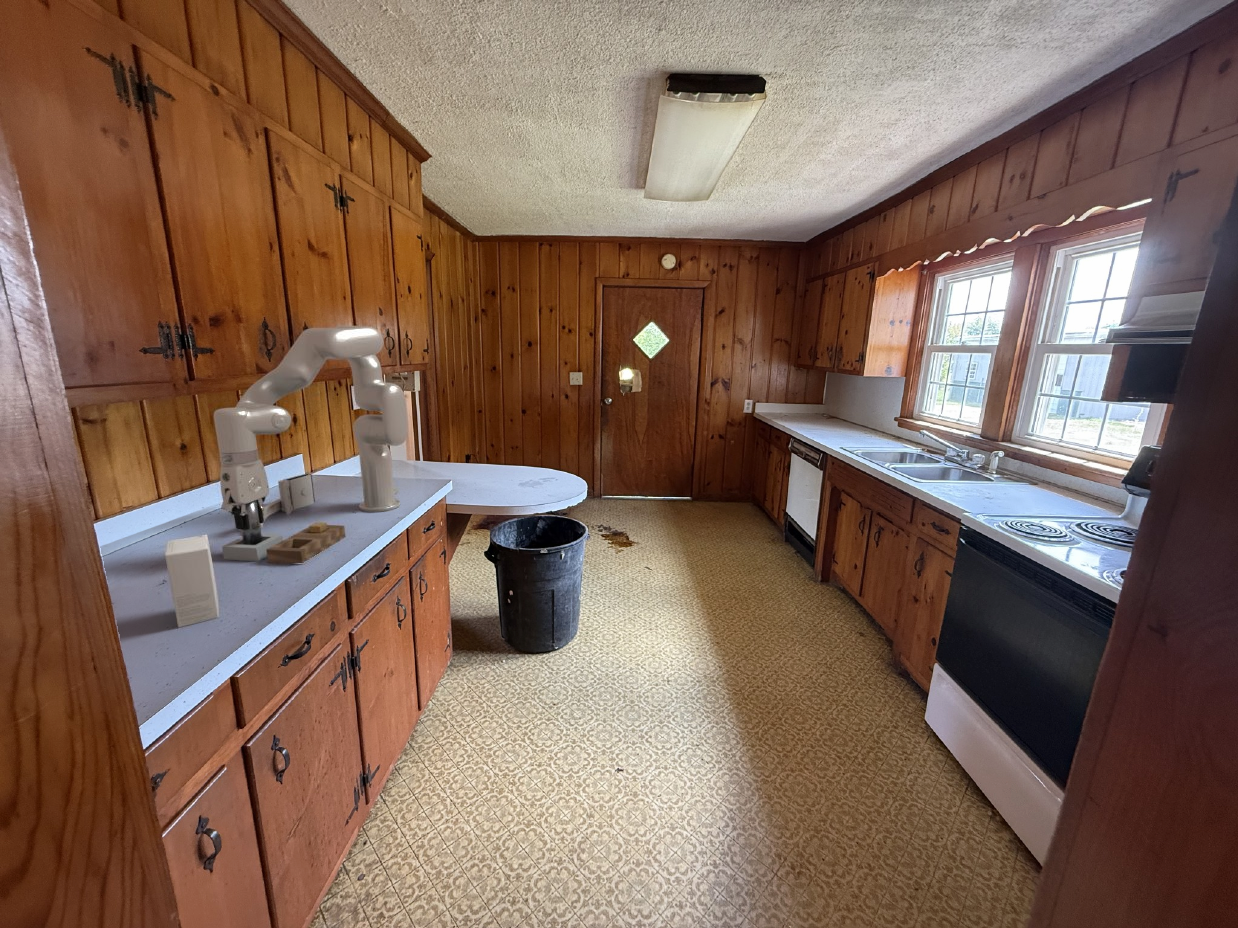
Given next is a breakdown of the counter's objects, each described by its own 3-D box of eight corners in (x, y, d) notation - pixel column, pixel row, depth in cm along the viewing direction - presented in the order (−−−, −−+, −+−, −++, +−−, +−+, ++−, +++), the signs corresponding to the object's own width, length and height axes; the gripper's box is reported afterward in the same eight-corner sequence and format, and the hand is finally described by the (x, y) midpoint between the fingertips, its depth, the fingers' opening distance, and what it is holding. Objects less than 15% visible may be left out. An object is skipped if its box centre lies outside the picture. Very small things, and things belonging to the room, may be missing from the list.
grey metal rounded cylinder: (251, 539, 128) (245, 496, 126) (266, 540, 128) (259, 496, 125) (239, 545, 125) (232, 500, 122) (254, 545, 124) (247, 501, 122)
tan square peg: (318, 538, 136) (316, 522, 135) (328, 539, 136) (326, 522, 135) (311, 542, 133) (309, 525, 132) (321, 543, 133) (319, 526, 132)
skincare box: (179, 610, 100) (165, 540, 96) (220, 600, 104) (208, 533, 100) (177, 629, 93) (162, 554, 90) (221, 618, 97) (208, 546, 94)
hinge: (288, 515, 155) (284, 485, 153) (272, 514, 155) (268, 484, 153) (317, 501, 169) (313, 473, 166) (302, 500, 169) (298, 473, 167)
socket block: (315, 535, 139) (313, 524, 139) (345, 536, 139) (344, 525, 138) (268, 562, 122) (266, 549, 121) (302, 564, 122) (300, 551, 121)
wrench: (290, 512, 166) (254, 534, 138) (284, 512, 165) (246, 535, 137) (288, 489, 165) (251, 507, 137) (282, 489, 164) (243, 507, 136)
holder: (252, 545, 132) (250, 533, 131) (284, 546, 131) (282, 534, 130) (224, 559, 123) (222, 546, 122) (258, 560, 123) (256, 548, 122)
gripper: (226, 465, 113) (238, 538, 117) (278, 451, 129) (287, 515, 133) (195, 464, 113) (208, 537, 117) (251, 450, 129) (261, 514, 134)
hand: (250, 525), depth 125 cm, fingers closed on grey metal rounded cylinder, 4 cm apart
